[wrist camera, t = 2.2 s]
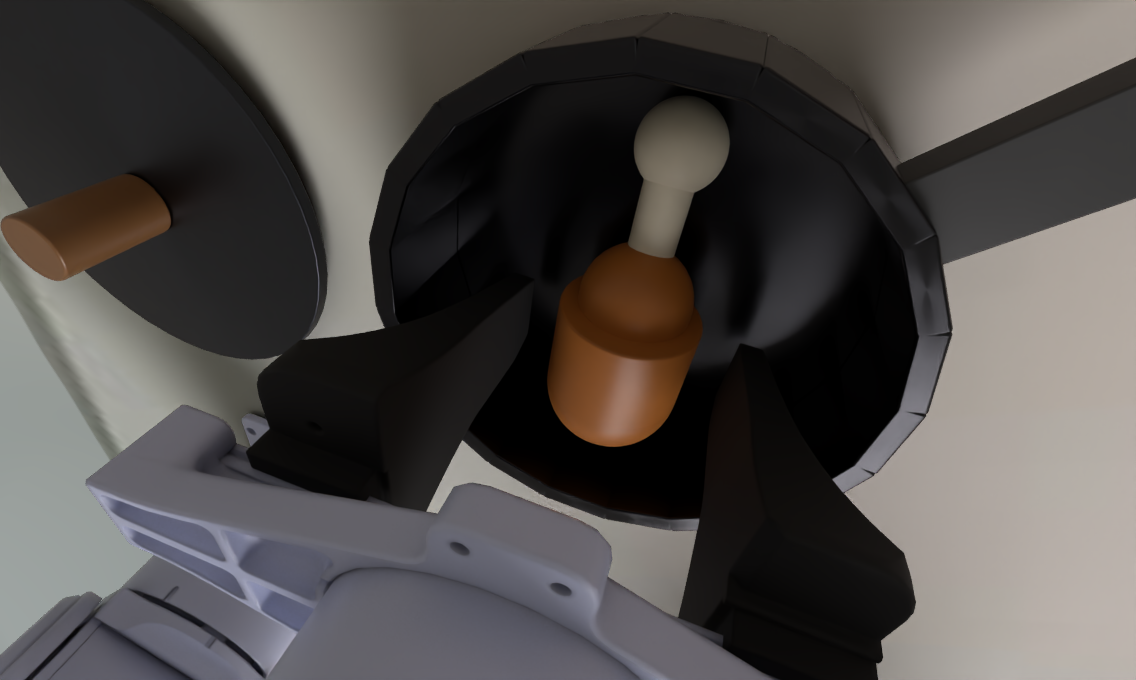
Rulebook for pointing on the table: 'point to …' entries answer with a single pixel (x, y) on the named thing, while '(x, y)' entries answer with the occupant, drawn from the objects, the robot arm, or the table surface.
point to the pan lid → (154, 177)
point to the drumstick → (639, 290)
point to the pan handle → (1032, 166)
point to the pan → (706, 249)
